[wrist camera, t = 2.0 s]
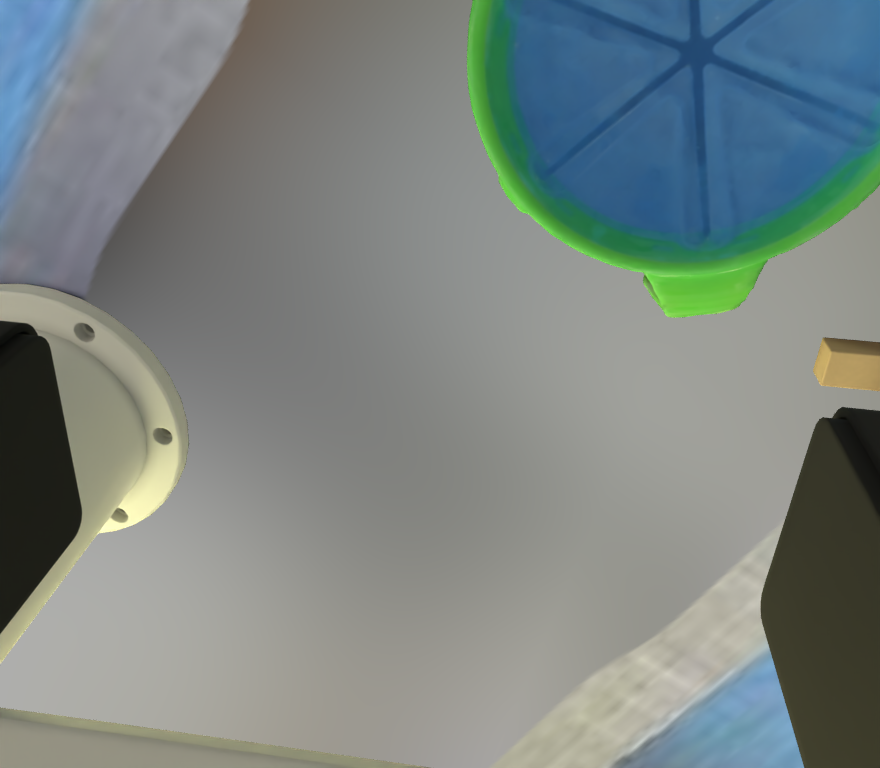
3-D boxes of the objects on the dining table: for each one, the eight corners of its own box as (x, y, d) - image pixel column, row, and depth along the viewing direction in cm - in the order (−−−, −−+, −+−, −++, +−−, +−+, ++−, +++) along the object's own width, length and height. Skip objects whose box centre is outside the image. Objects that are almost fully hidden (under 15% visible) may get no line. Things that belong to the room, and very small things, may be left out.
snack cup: (797, 236, 30) (892, 369, 22) (504, 244, 32) (481, 371, 23) (872, -317, 23) (1064, -459, 14) (484, -271, 24) (438, -373, 16)
